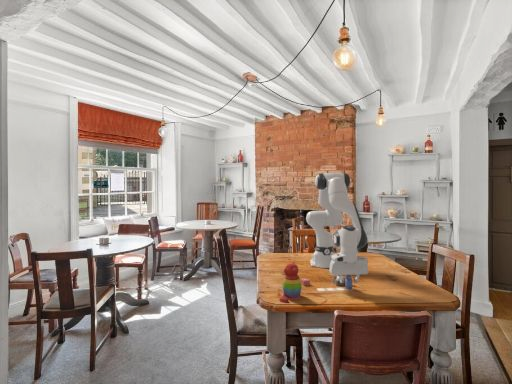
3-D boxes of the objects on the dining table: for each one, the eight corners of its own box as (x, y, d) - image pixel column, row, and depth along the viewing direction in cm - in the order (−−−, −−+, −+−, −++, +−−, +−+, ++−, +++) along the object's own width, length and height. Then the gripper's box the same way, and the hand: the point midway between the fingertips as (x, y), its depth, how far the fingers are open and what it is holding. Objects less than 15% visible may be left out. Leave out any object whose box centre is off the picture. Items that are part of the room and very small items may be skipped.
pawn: (346, 289, 155) (346, 276, 155) (344, 287, 159) (344, 274, 159) (353, 289, 155) (353, 276, 155) (351, 287, 159) (351, 274, 159)
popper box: (331, 283, 169) (331, 276, 169) (343, 283, 170) (343, 276, 170) (336, 288, 162) (336, 280, 162) (348, 287, 163) (348, 280, 163)
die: (300, 286, 166) (300, 278, 166) (306, 285, 167) (306, 278, 167) (303, 288, 162) (303, 280, 162) (310, 287, 163) (310, 280, 163)
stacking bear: (284, 294, 154) (284, 260, 153) (303, 296, 150) (303, 261, 150) (278, 301, 144) (278, 265, 143) (298, 304, 140) (298, 267, 140)
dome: (334, 282, 168) (334, 274, 168) (342, 282, 168) (342, 274, 168) (337, 285, 164) (337, 277, 164) (345, 285, 164) (345, 276, 164)
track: (312, 289, 160) (312, 287, 160) (352, 288, 161) (352, 286, 161) (316, 295, 152) (316, 292, 152) (358, 293, 153) (358, 291, 153)
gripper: (365, 255, 161) (365, 280, 161) (328, 255, 159) (328, 281, 160) (370, 257, 154) (370, 284, 155) (332, 258, 153) (332, 285, 153)
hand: (348, 282), depth 157 cm, fingers open, 6 cm apart
